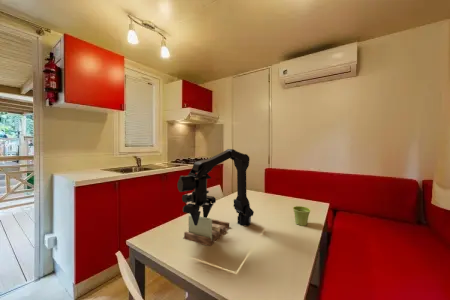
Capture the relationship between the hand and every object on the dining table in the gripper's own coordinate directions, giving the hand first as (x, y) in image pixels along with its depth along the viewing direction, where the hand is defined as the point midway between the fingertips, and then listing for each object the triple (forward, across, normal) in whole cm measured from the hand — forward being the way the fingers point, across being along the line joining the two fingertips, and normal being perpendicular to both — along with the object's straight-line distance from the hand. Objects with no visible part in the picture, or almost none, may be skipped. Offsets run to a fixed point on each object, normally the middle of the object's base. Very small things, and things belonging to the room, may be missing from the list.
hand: (200, 222), depth 87 cm
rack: (+8, -7, 0) cm, 11 cm away
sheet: (+8, 0, 0) cm, 8 cm away
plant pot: (+9, -42, +40) cm, 59 cm away
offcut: (+8, -7, +4) cm, 11 cm away
